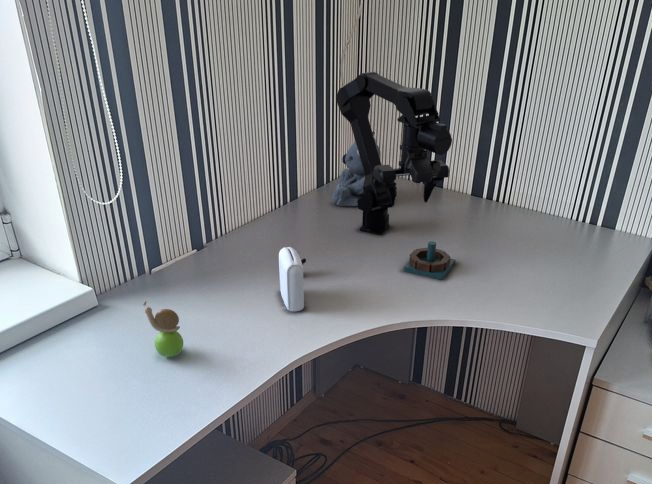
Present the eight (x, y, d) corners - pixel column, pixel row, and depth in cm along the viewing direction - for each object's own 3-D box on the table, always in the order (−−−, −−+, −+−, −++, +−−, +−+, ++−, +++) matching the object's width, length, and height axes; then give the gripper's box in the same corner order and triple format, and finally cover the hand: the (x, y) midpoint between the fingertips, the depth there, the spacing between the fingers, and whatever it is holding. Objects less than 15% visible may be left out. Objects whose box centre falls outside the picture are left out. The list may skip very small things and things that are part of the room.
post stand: (404, 271, 171) (405, 246, 167) (418, 255, 179) (420, 231, 175) (442, 279, 168) (444, 255, 164) (455, 263, 175) (457, 239, 172)
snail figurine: (154, 347, 139) (145, 295, 132) (186, 346, 139) (179, 294, 133) (149, 362, 134) (140, 309, 128) (182, 362, 135) (175, 309, 128)
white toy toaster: (278, 291, 160) (276, 242, 153) (296, 289, 161) (295, 241, 154) (287, 313, 152) (285, 263, 145) (306, 311, 153) (305, 261, 146)
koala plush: (338, 187, 219) (339, 125, 208) (395, 191, 218) (398, 129, 207) (330, 207, 204) (331, 142, 194) (391, 211, 203) (394, 146, 192)
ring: (404, 266, 170) (405, 259, 169) (418, 252, 178) (418, 244, 177) (441, 275, 167) (441, 267, 166) (453, 259, 175) (454, 252, 173)
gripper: (390, 156, 159) (386, 219, 168) (462, 151, 165) (455, 212, 174) (373, 142, 168) (370, 202, 176) (442, 137, 174) (437, 196, 182)
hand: (409, 203), depth 177 cm, fingers open, 9 cm apart
